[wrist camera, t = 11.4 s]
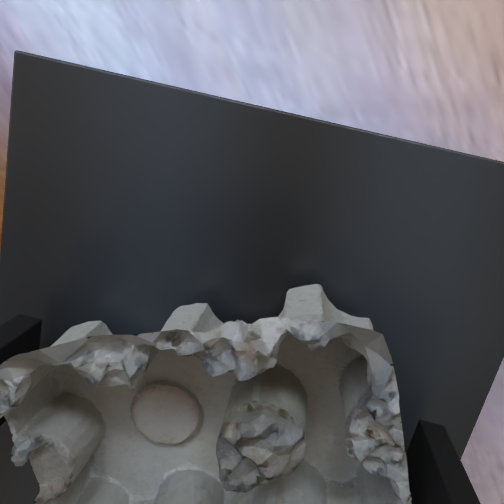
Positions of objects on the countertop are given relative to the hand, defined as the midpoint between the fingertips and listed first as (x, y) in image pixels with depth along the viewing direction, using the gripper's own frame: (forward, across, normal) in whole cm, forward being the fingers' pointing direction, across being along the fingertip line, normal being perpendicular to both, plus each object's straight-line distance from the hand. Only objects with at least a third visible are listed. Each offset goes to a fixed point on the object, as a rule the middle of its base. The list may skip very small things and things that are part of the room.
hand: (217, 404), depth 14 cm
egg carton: (0, 0, 0) cm, 0 cm away
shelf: (+6, 0, 0) cm, 6 cm away
